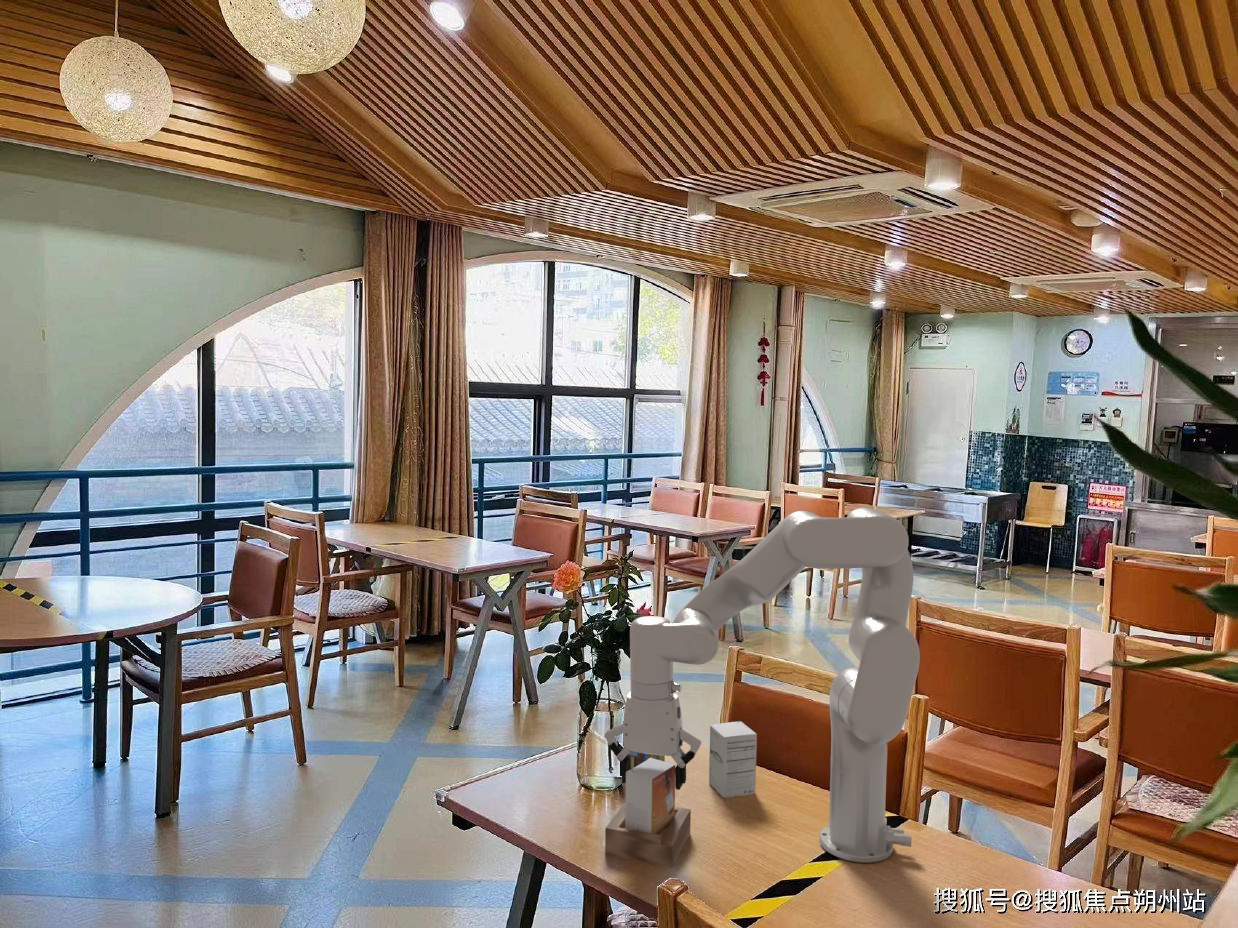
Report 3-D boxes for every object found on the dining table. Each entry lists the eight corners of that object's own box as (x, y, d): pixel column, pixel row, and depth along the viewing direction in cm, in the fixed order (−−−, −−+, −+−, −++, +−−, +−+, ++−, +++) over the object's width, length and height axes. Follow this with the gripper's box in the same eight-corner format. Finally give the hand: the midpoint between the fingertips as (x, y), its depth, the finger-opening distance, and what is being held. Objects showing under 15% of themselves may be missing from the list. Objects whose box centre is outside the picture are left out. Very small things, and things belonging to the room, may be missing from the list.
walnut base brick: (690, 837, 162) (690, 809, 162) (671, 869, 151) (672, 840, 151) (627, 825, 166) (627, 798, 166) (605, 856, 155) (605, 827, 155)
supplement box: (707, 783, 184) (708, 723, 183) (740, 779, 186) (742, 720, 185) (722, 799, 177) (723, 736, 176) (756, 794, 179) (758, 732, 178)
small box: (651, 839, 153) (651, 779, 153) (624, 829, 157) (624, 771, 156) (675, 821, 160) (676, 764, 159) (649, 812, 163) (650, 756, 162)
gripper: (705, 685, 158) (705, 780, 159) (611, 677, 163) (612, 769, 164) (695, 699, 150) (696, 798, 152) (598, 690, 156) (599, 786, 157)
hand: (652, 783), depth 158 cm, fingers open, 9 cm apart
